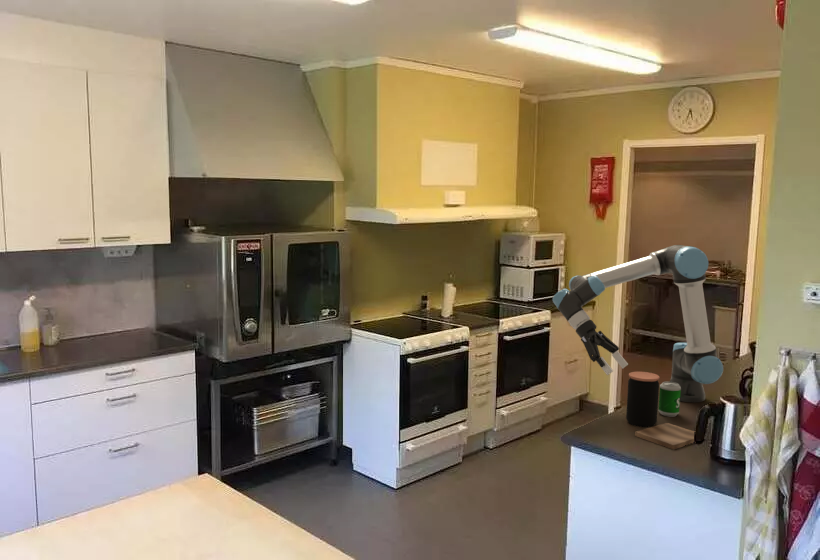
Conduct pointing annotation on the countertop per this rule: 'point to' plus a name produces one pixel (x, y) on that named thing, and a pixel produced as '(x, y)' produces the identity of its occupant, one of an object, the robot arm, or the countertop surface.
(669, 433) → the walnut board
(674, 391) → the soda can
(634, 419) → the coffee jar
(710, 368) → the robot arm
